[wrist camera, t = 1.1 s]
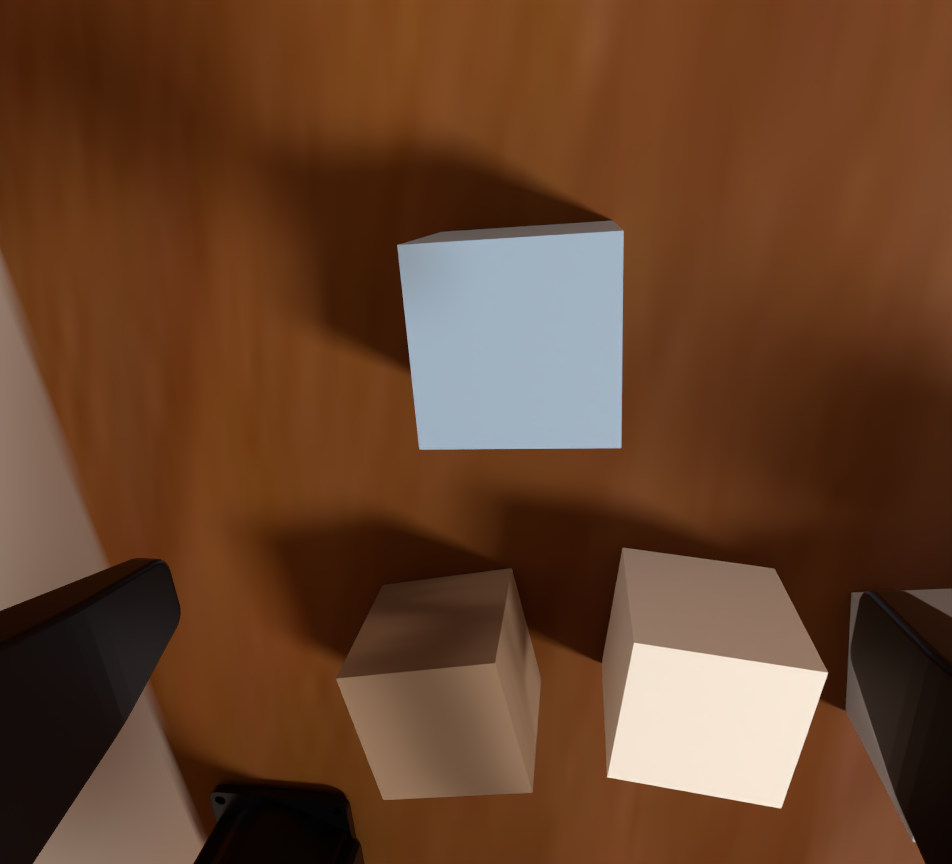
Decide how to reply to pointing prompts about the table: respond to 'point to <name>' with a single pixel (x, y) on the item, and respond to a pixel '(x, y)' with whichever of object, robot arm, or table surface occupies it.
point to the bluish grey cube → (516, 336)
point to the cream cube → (706, 678)
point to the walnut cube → (446, 688)
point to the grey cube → (855, 707)
